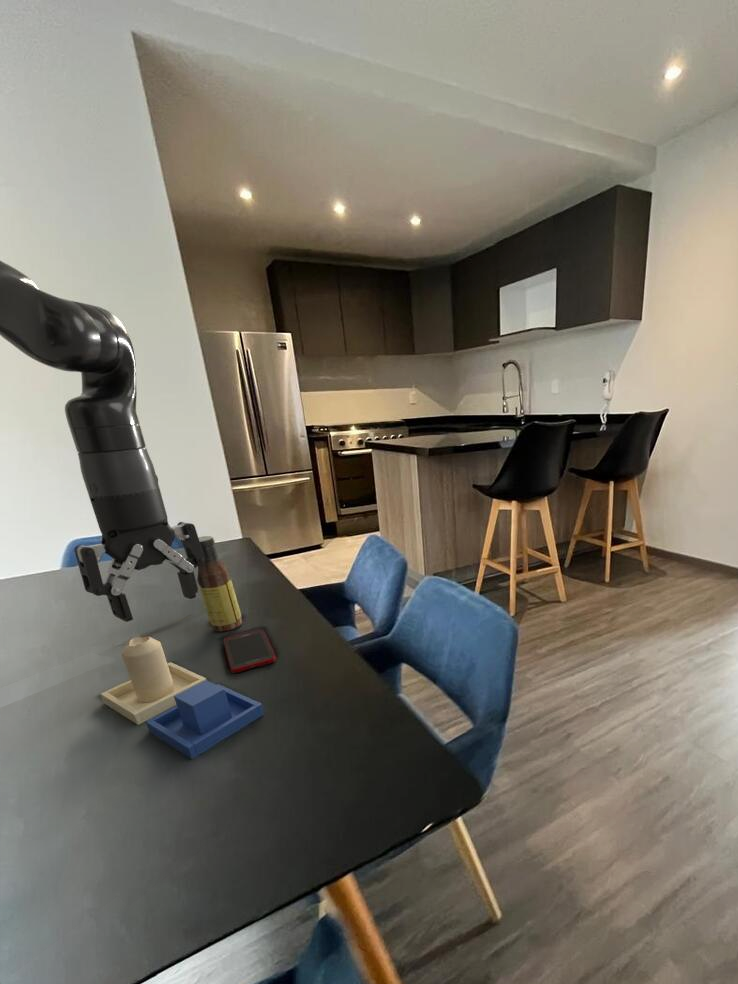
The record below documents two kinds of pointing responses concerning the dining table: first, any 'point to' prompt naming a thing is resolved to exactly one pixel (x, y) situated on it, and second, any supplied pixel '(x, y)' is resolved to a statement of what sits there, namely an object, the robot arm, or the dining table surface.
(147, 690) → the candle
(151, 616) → the dining table surface
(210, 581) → the sauce bottle
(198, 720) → the blue block
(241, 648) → the cell phone
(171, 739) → the blue tray
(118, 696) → the ivory tray
